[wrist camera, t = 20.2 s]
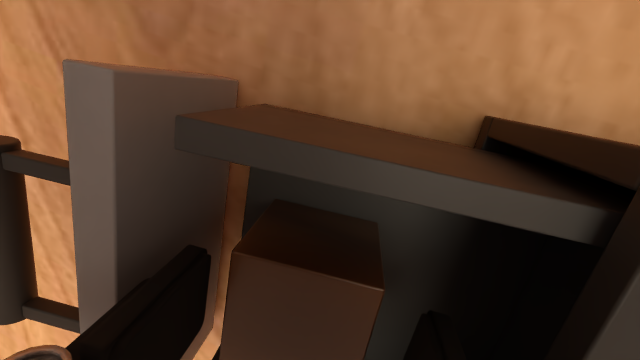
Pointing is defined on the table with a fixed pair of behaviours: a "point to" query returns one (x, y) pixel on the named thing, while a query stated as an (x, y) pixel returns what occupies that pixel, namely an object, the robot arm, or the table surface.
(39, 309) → the drawer
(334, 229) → the block
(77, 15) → the table surface
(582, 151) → the cabinet
